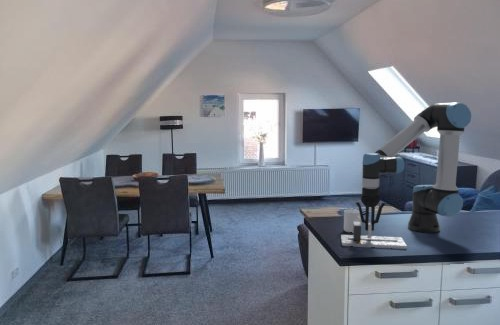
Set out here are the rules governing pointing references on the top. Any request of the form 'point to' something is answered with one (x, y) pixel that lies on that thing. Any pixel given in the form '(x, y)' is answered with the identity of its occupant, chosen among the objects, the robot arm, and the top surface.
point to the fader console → (374, 242)
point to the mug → (351, 219)
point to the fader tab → (357, 230)
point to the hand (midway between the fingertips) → (369, 237)
